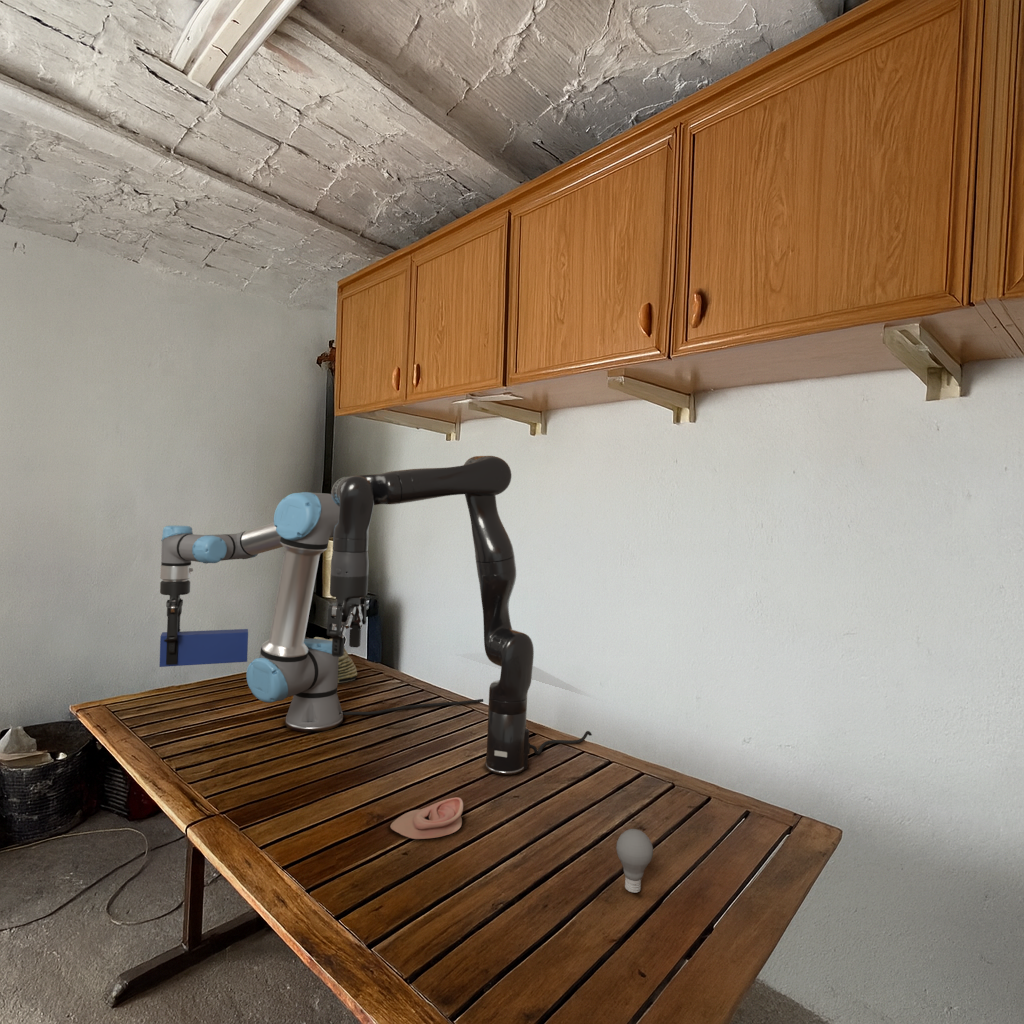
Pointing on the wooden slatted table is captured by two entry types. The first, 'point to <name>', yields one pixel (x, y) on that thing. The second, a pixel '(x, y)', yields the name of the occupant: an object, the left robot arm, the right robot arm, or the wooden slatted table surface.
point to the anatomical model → (431, 820)
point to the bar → (207, 647)
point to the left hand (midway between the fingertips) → (172, 661)
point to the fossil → (345, 667)
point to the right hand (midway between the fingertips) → (346, 651)
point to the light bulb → (634, 857)
